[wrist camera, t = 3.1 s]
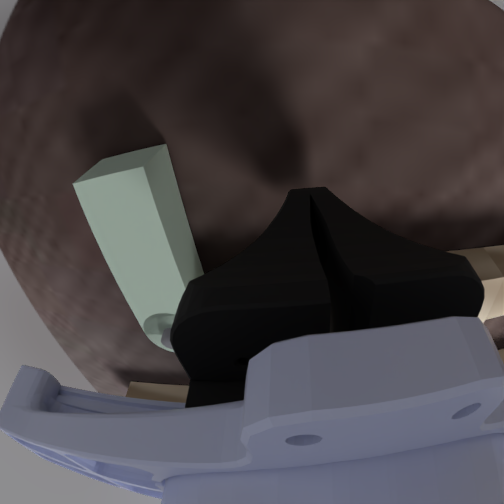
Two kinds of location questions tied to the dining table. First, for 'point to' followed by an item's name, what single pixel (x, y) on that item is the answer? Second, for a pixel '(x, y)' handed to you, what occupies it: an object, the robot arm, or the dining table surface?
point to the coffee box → (499, 3)
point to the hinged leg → (142, 234)
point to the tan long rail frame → (482, 259)
